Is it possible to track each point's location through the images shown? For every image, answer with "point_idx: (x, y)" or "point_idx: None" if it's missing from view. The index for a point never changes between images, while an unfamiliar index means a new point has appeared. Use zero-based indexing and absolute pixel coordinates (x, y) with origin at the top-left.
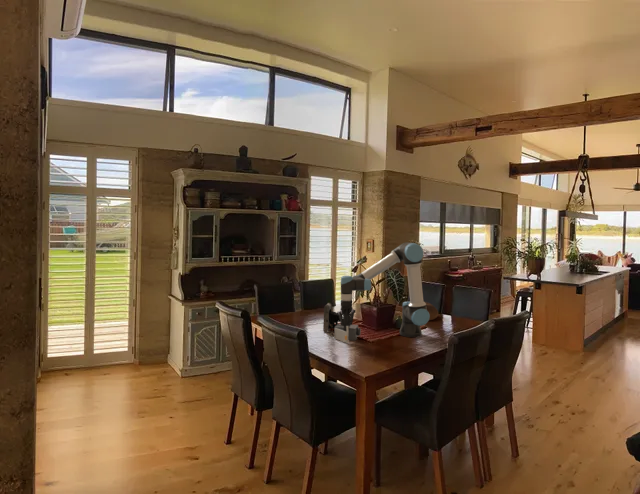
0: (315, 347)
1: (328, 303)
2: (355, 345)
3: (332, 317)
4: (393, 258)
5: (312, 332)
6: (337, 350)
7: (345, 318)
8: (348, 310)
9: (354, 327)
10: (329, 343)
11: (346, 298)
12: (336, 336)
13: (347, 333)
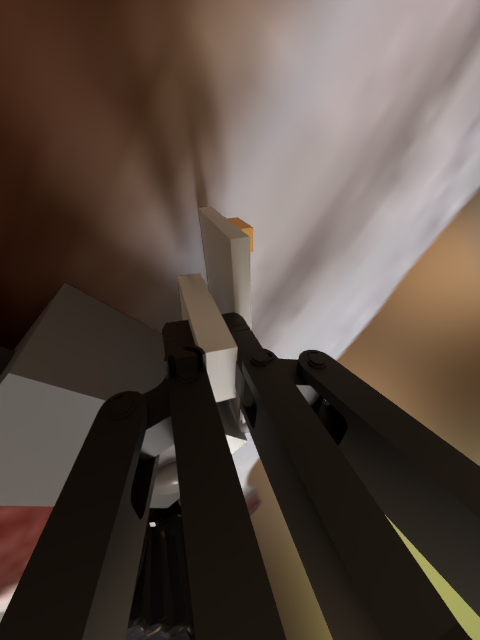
0: (424, 242)
1: None
2: (143, 100)
3: (178, 578)
4: None
5: (256, 455)
6: (407, 55)
7: (379, 527)
8: None
9: (18, 419)
10: (311, 285)
11: None
12: None
13: (243, 232)
